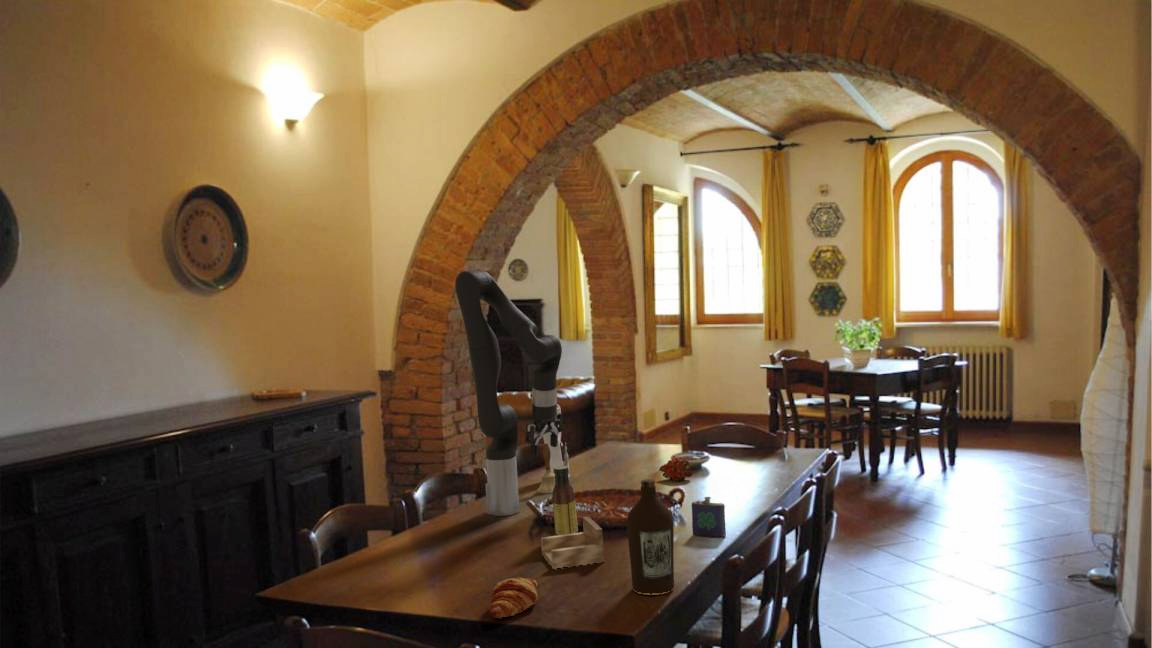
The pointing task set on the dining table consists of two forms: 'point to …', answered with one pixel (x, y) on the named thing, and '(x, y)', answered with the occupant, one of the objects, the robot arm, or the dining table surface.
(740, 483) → the dining table surface
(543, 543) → the light wooden holder
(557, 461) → the skyscraper
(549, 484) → the hand bell
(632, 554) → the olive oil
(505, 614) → the croissant
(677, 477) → the dragon fruit
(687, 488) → the dining table surface
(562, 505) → the sauce bottle
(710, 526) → the flask
